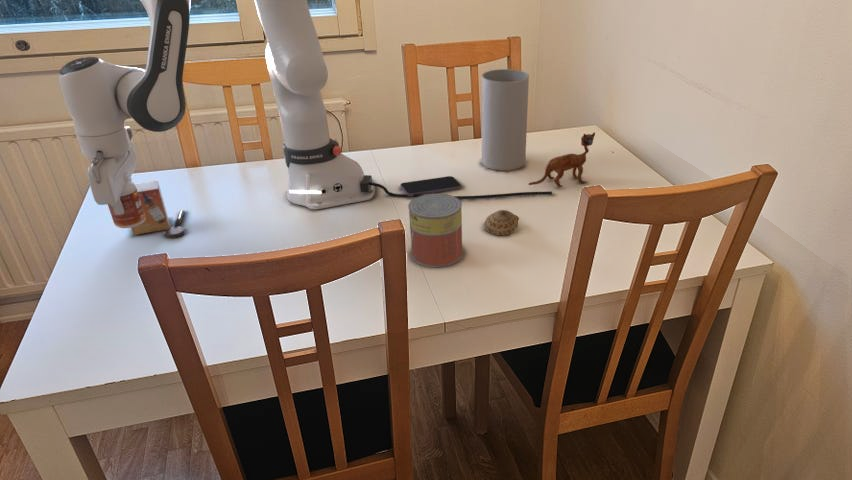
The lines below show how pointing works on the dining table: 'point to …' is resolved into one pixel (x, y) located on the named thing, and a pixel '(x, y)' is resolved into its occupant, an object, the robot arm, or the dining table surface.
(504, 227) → the seashell
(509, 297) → the dining table surface
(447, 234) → the canned food
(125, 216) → the pill bottle
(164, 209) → the small box
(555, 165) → the cat figurine
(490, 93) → the cylinder vase
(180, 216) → the long handled flat disc
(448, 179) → the smartphone
